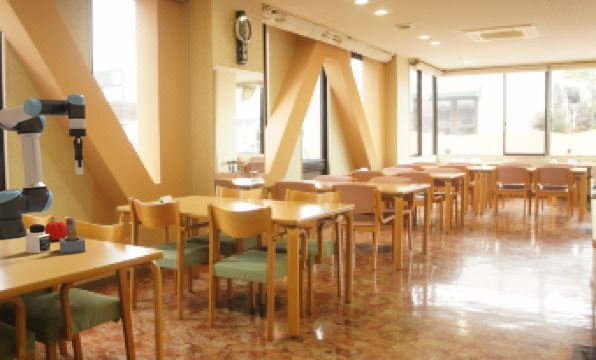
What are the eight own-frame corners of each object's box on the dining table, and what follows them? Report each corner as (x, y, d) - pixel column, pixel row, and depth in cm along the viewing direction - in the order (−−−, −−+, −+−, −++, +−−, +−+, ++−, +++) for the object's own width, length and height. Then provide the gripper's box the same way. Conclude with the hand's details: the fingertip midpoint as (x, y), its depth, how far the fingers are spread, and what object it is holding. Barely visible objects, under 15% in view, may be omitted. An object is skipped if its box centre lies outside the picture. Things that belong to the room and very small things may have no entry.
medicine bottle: (40, 253, 237) (39, 225, 236) (25, 252, 239) (24, 225, 238) (50, 250, 244) (49, 223, 243) (36, 249, 246) (35, 222, 245)
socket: (59, 249, 245) (59, 238, 244) (83, 247, 249) (83, 236, 248) (60, 254, 236) (59, 242, 235) (85, 251, 240) (84, 240, 239)
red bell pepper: (50, 238, 272) (49, 220, 272) (72, 238, 272) (71, 220, 271) (39, 242, 262) (39, 224, 261) (62, 242, 261) (61, 224, 261)
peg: (67, 249, 243) (65, 218, 242) (77, 248, 245) (75, 217, 244) (67, 251, 240) (66, 219, 238) (77, 250, 241) (76, 218, 240)
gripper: (67, 128, 266) (69, 172, 268) (69, 127, 243) (71, 175, 245) (84, 128, 269) (86, 171, 271) (87, 127, 246) (89, 175, 248)
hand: (79, 173), depth 258 cm, fingers open, 13 cm apart
